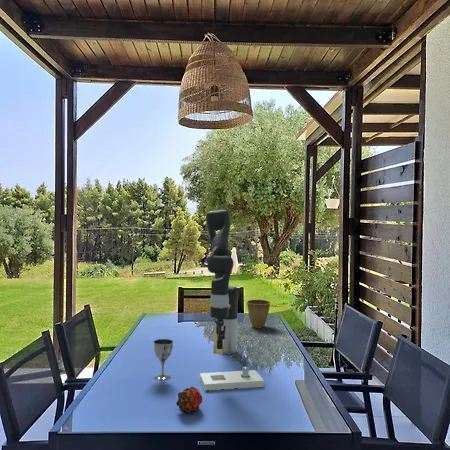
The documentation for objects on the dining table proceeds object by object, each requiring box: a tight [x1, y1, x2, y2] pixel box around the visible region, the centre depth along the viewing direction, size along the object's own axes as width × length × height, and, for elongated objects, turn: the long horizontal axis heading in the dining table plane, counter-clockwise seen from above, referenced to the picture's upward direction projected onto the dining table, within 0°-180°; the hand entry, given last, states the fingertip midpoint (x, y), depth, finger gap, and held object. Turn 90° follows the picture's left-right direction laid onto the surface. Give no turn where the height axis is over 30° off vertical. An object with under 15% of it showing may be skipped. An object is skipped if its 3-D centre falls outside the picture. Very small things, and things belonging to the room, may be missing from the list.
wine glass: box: [153, 338, 174, 381], centre depth 173 cm, size 8×8×15 cm
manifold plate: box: [199, 369, 265, 392], centre depth 168 cm, size 12×24×2 cm, turn 103°
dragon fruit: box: [175, 386, 203, 413], centre depth 143 cm, size 8×8×12 cm
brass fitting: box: [212, 330, 224, 355], centre depth 167 cm, size 4×4×9 cm
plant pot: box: [246, 299, 271, 328], centre depth 262 cm, size 15×15×16 cm
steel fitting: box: [241, 366, 250, 378], centre depth 169 cm, size 3×3×6 cm
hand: (218, 347), depth 167 cm, fingers closed on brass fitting, 4 cm apart
